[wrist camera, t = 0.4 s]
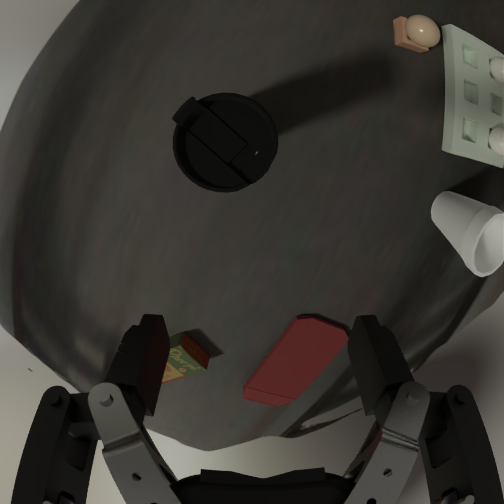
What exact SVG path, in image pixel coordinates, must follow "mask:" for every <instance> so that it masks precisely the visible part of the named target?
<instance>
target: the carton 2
mask: <svg viewBox="0 0 504 504" xmlns="http://www.w3.org/2000/svg"><path fill="white" fill-rule="evenodd" d="M348 340H349V338H348V336H347V334H346V333H345V331H344V329H343V328H342V327H340V326H337V325H335V324H332V323H330V322H327V321H324V320H322V319H320V318H317V317H315V316H312V315H307V316H296V317H295V318H294V319H293V320H292V322H291V323H290V324H289V326H288V327H287V329H286V330H285V331H284V333H283V334H282V335H281V337H280V338H279V340H278V341H277V342H276V344H275V345H274V346H273V348H272V349H271V350H270V352H269V353H268V354H267V356H266V357H265V358H264V360H263V361H262V362H261V364H260V365H259V366H258V368H257V369H256V370H255V371H254V373H253V374H252V375H251V377H250V378H249V379H248V380H247V382H246V384H245V385H244V386H243V397H244V399H247V400H250V401H254V402H258V403H262V404H267V405H271V406H275V407H276V406H277V405H278V406H282V405H284V404H287V403H289V402H291V401H294V400H296V399H297V398H298V397H299V396H300V395H301V394H302V393H303V391H304V390H305V389H306V388H307V387H308V386H309V385H310V384H311V383H312V382H313V381H314V380H315V379H316V377H317V376H318V375H319V374H320V373H321V372H322V371H323V370H324V369H325V367H326V366H327V365H328V364H329V363H330V362H331V361H332V359H333V358H334V357H335V356H336V355H337V353H338V352H339V351H340V350H341V349H342V347H343V346H344V345H345V344H346V343H347V341H348Z"/></svg>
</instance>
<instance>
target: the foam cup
mask: <svg viewBox="0 0 504 504" xmlns="http://www.w3.org/2000/svg"><path fill="white" fill-rule="evenodd" d="M431 216H432V220H433V222H434V223H435V225H436V226H437V227H438V228H439V229H440V231H441V232H442V233H443V234H444V236H445V237H446V238H447V239H448V240H449V242H450V243H451V244H452V245H453V247H454V248H455V249H456V251H457V252H458V253H459V255H460V256H461V257H462V259H463V261H464V263H465V265H466V266H467V267H468V268H469V269H470V270H471V271H472V272H473V273H474V274H475V275H478V276H480V277H484V276H487V275H490V274H492V273H493V272H494V271H495V270H496V269H498V268H499V267H500V266H501V264H502V263H503V261H504V212H502V211H501V210H499V209H498V208H496V207H495V206H489V205H486V204H484V203H481V202H479V201H476V200H474V199H471V198H468V197H465V196H463V195H460V194H457V193H454V192H450V191H444V192H442V193H441V194H439V195H438V196H437V197H436V199H435V200H434V202H433V205H432V209H431Z"/></svg>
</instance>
